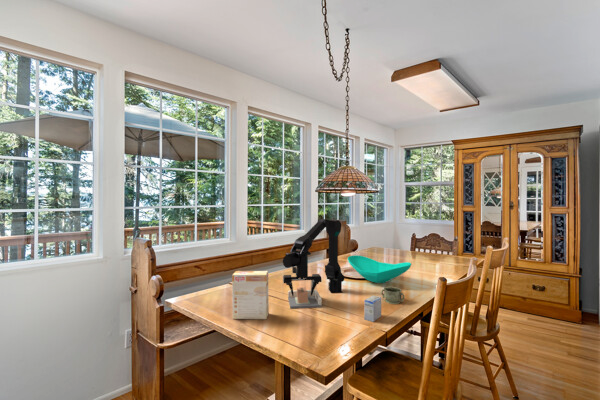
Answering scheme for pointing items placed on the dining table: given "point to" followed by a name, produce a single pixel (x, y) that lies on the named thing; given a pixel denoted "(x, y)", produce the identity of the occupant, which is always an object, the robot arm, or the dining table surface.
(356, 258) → the table top decor
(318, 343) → the dining table surface
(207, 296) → the dining table surface
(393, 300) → the vessel
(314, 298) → the tray
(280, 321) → the dining table surface
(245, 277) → the coffeecake box
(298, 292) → the terracotta block
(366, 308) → the medicine box
